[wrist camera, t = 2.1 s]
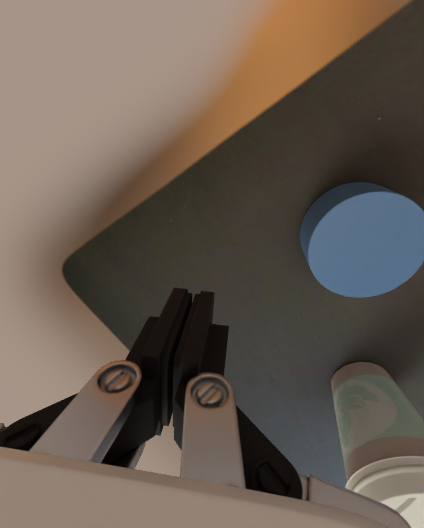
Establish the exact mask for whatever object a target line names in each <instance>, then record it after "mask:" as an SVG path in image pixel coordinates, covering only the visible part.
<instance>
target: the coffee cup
mask: <svg viewBox="0 0 424 528" xmlns="http://www.w3.org/2000/svg"><path fill="white" fill-rule="evenodd" d="M331 389H332V395H333V401H334V407H335V412H336V418H337V424H338V430H339V435H340V441H341V447H342V453H343V459H344V464H345V470H346V476H347V481H348V482H347V484H346V489H349V490H351V491H354V492H356V493H358V494H361V495H363V496H366V497H368V498H371V499H373V500H375V501H378V502H380V503H383V504H385V505H387V506H389V507H390V508H392V509H394V510H395V511H397V512H398V513H399V514H400V515H401V516H402V517H403V518H404V519H405V520H406V521H407V522H408V523H409V525H410V526H411V528H424V420H423V419H422V417H421V416H420V415H419V413H418V412H417V411H416V409H415V408H414V407H413V406H412V404H411V403H410V402H409V400H408V399H407V398H406V396H405V395H404V394H403V392H402V391H401V390H400V388H399V387H398V386H397V384H396V383H395V382H394V380H393V379H392V378H391V376H390V375H389V374H388V372H387V371H386V370H385V369H384V368H382V367H381V366H379V365H377V364H374V363H369V362H356V363H351V364H348V365H346V366H343V367H342V368H340V369H339V370H338V371H337V372H336V373H335V374H334V375H333V377H332V379H331Z"/></svg>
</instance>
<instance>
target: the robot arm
mask: <svg viewBox="0 0 424 528" xmlns="http://www.w3.org/2000/svg"><path fill="white" fill-rule="evenodd" d="M213 306H214V292H207V291H201V293H200V294H195V297H194V300H193V303H192V293H188V290H187V289H181V288H174V289H173V291H172V293H171V295H170V297H169V299H168V301H167V303H166V305H165V307H164V309H163V311H162V313H161V315H160V317H152V316H150V317H149V318H148V320H147V321H146V323H145V325H144V327H143V329H142V331H141V332H140V334H139V336H138V338H137V340H136V342H135V343H134V345H133V347H132V349H131V351H130V352H129V354H128V356H127V358H126V360H121V361H114V362H111V363H108V364H107V365H105V366H103V367H101V369H99V370H98V371H97V372H96V373H95V374H94V376H93V377H92V378H91V379H90V380H89V381H88V383H87V384H86V385H85V386H84V387H83V389H82V390H81V391H80V392H79V393H77V394H75V395H72V396H70V397H68V398H66V399H64V400H61V401H59V402H57V403H55V404H53V405H51V406H48V407H46V408H44V409H42V410H39V411H37V412H35V413H33V414H31V415H28V416H26V417H24V418H22V419H20V420H18V421H16V422H14V423H13V424H11V425H10V426H9V427H5V426H4V424H3V423H1V424H0V528H411V526H410V525H409V523H408V522H407V521H406V520H405V519H404V518H403V517H402V516H401V515H400V514H399V513H398V512H397V511H395V510H394V509H392V508H390V507H389V506H387V505H385V504H383V503H380V502H378V501H375V500H373V499H371V498H368V497H366V496H363V495H361V494H358V493H356V492H354V491H351V490H349V489H346V488H344V487H341V486H339V485H336V484H334V483H332V482H329V481H327V480H324V479H322V478H319V477H317V476H314V475H312V474H310V476H309V477H306V476H304V475H302V474H299V473H297V471H296V470H295V468H294V467H293V466H292V464H291V463H290V462H289V461H288V460H287V459H286V458H285V457H284V456H283V455H282V453H281V452H280V451H279V450H278V449H277V448H276V447H275V446H274V445H273V444H272V443H271V442H270V441H269V440H268V439H267V438H266V437H265V435H264V434H263V433H262V432H261V431H260V430H259V429H258V428H257V427H256V426H255V425H254V424H253V423H252V422H251V421H250V420H249V418H248V417H247V416H246V415H245V414H244V413H243V412H242V411H241V410H240V409H239V408H238V407H237V406H236V403H235V395H234V390H233V386H232V384H231V383H230V382H229V380H228V379H226V378H225V377H224V368H225V358H226V349H227V339H228V330H229V326H223V325H216V324H212V318H213ZM172 413H173V427H174V440H175V441H176V443H177V444H178V446H179V448H180V449H181V451H182V453H181V468H180V477H176V476H169V475H164V474H158V473H153V472H147V471H141V470H135V467H136V465H137V463H138V461H139V459H140V457H141V455H142V453H143V450H144V447H145V442H146V441H147V440H149V439H151V438H152V437H154V436H155V435H161V432H162V429H163V425H165V426H169V423H170V419H171V416H172Z"/></svg>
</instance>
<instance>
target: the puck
mask: <svg viewBox="0 0 424 528" xmlns="http://www.w3.org/2000/svg"><path fill="white" fill-rule="evenodd" d="M300 244H301V248H302V250H303V253H304V255H305V257H306V259H307V262H308V264H309V266H310V269H311V271H312V273H313V275H314V276H315V278H316V279H317V280H318V281H319V282H320V283H321V284H322V285H323V286H324V287H325V288H327V289H328V290H330V291H332V292H334V293H337V294H340V295H343V296H347V297H356V298H362V297H372V296H376V295H380V294H383V293H386V292H388V291H391V290H393V289H395V288H396V287H398V286H400V285H401V284H403V283H404V282H406V281H407V280H408V279H409V278H410V277H412V276H413V275H414V274H415V272H416V271H417V270H418V269H419V268H420V266H421V265H422V263H423V262H424V211H423V210H422V209H421V208H420V206H419V205H418V204H417V203H415V202H414V201H413V200H411V199H409V198H407V197H406V196H404V195H401V194H399V193H396V192H394V191H392V190H389V189H387V188H384V187H382V186H379V185H377V184H373V183H368V182H352V183H347V184H343V185H340V186H337V187H335V188H333V189H331V190H329V191H327V192H326V193H324V194H323V195H322V196H320V197H319V198H318V199H317V200H316V201H315V202H314V203H313V204H312V205H311V207H310V208H309V209H308V211H307V212H306V214H305V216H304V218H303V221H302V224H301V229H300Z"/></svg>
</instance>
